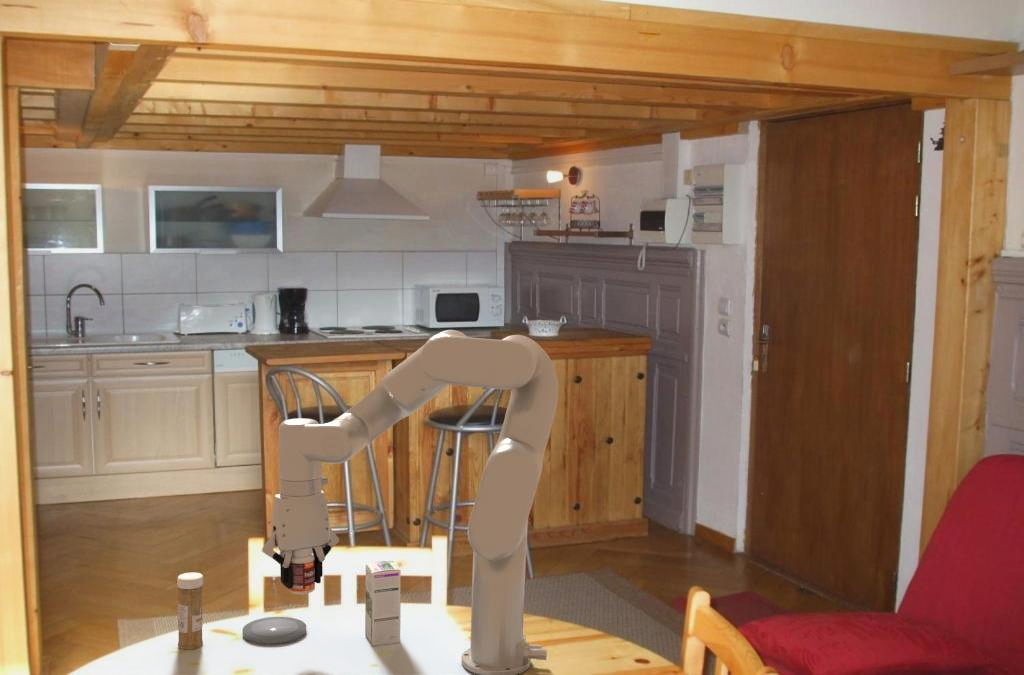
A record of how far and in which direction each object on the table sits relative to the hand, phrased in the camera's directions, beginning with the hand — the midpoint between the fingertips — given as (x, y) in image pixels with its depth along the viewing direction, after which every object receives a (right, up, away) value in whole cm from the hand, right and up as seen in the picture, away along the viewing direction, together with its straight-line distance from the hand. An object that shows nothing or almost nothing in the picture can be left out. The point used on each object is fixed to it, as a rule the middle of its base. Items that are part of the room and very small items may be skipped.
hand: (301, 582), depth 190 cm
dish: (-7, -12, +9) cm, 16 cm away
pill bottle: (0, -2, 0) cm, 2 cm away
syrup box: (+14, -13, +7) cm, 20 cm away
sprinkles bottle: (-21, -12, +2) cm, 24 cm away
